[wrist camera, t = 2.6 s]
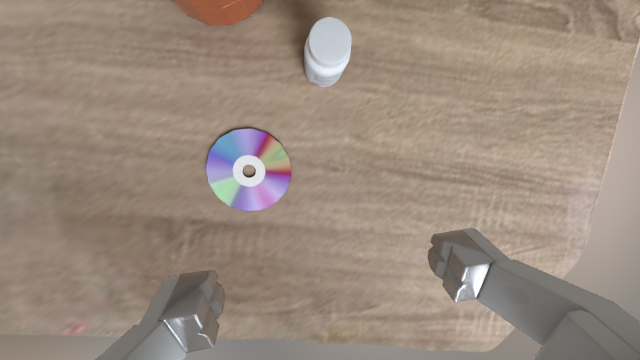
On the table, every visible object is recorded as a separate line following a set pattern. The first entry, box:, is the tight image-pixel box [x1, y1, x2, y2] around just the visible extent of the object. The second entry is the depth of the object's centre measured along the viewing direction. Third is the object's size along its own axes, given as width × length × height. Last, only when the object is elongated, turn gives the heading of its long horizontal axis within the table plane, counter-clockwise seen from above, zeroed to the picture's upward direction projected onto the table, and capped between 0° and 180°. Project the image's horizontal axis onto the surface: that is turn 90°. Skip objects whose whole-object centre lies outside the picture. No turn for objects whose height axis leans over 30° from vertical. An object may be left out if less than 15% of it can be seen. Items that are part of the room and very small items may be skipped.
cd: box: [206, 128, 291, 211], centre depth 30 cm, size 11×11×1 cm
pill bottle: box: [304, 17, 352, 88], centre depth 25 cm, size 5×5×8 cm
